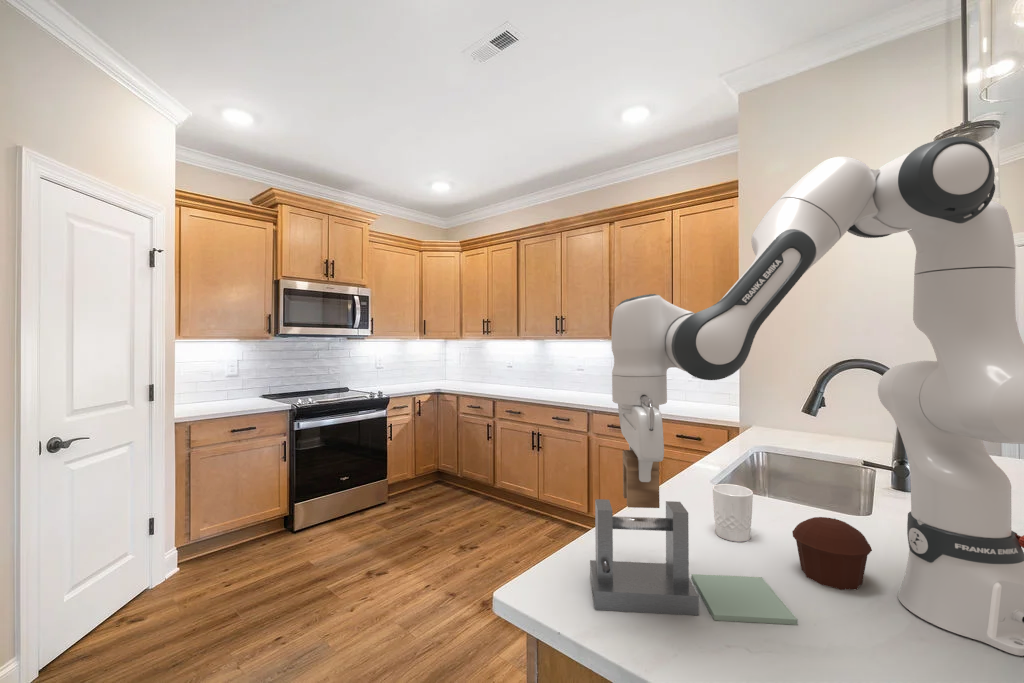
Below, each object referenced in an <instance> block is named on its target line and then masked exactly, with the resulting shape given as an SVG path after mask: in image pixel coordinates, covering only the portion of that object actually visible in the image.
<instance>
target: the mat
mask: <svg viewBox="0 0 1024 683" xmlns="http://www.w3.org/2000/svg"><path fill="white" fill-rule="evenodd" d="M690 575H691V579H690V580H691V581H692V583H693V584H694V585H695V587H696V588H695V589H697V591H698V593H699V595H700V597H701V599H702V601H703V602H704V603H705V606H706V607H707V609H708V611H709V614H710V615H711V616H712V619H713V620H714V621H719V622H720V621H725V622H741V623H743V622H744V623H756V624H758V623H759V624H773V625H774V624H777V625H796V626H798V625H799V624H798V620H799V619H798V618H797V617H796V616H795V615H794V613H793V612H792V611H791V609H789V607H788V606H787V605H786V604H785V602H784V601H783V600H782V599H781V598H780V597H779V596H778V595H777V593H776V592H775V591H774V590H773V589H772V587H771V586H770V585H769V584H768V583H767V582H766V580H765V579H764V578H763V577H762V576H745V575H744V576H743V575H742V576H741V575H722V574H721V575H720V574H719V575H718V574H700V573H699V574H697V573H691V574H690Z"/></svg>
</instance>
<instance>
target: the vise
mask: <svg viewBox="0 0 1024 683" xmlns="http://www.w3.org/2000/svg"><path fill="white" fill-rule="evenodd" d="M594 500H595V502H594V507H595V508H594V510H595V511H594V513H595V523H594V524H595V530H594V532H595V535H594V536H595V559H594V560H593V559H592V560H591V559H590V560H589V570H590V571H589V574H590V575H589V578H590V586H591V594H592V600H593V601H592V603H593V607H594V608H593V609H594V611H607V612H608V611H610V612H611V611H613V612H625V613H626V612H629V613H648V614H662V615H663V614H667V615H681V616H682V615H684V616H700V613H699V612H700V610H699V609H700V606H699V605H700V603H699V602H700V599H699V597H700V596H699V594H698V592H697V590H696V588H695V587H694V585H693V582H692V580H691V579H690V576H689V575H690V572H689V570H690V569H689V568H690V565H689V564H690V562H689V560H690V559H689V558H690V557H689V556H690V555H689V545H690V544H689V541H690V540H689V512H688V510H687V508H686V507H685V506H684V505H683V504H682V502H681V501H671V500H669V501H665V517H650V516H649V517H646V516H645V517H644V516H643V517H641V516H613V506H612V505H611V501H610V499H605V498H603V499H600V498H599V499H598V498H597V499H596V498H595V499H594ZM614 530H627V531H628V530H630V531H631V530H632V531H657V532H660V531H661V532H665V563H664V562H663V563H662V562H660V563H659V562H644V561H643V562H639V561H637V562H636V561H619V560H618V561H617V560H616V561H615V560H613V559H614V546H613V545H614V544H613V542H614V541H613V540H614V538H613V535H614V533H613V531H614Z"/></svg>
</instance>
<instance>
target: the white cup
mask: <svg viewBox="0 0 1024 683" xmlns="http://www.w3.org/2000/svg"><path fill="white" fill-rule="evenodd" d="M753 492H754V491H753V490H751V489H750V488H748V487H746V486H742V485H738V484H732V483H719V484H715V485H713V486H712V499H713V500H712V503H713V514H714V515H713V517H714V526H715V531H714V532H715V534H716V535H717V536H718V537H719V538H721V539H722V540H727V541H731V542H735V543H736V542H737V543H745V542H747V541H749V540H750V539H751V530H752V529H751V527H752V520H753V519H752V517H753V498H754V493H753Z"/></svg>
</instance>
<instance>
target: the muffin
mask: <svg viewBox="0 0 1024 683" xmlns="http://www.w3.org/2000/svg"><path fill="white" fill-rule="evenodd" d="M792 537H793V538H794V539H795V542H796V546H797V552H798V557H799V563H800V568H801V571H802V572H803V573H804V575H805V577H806V578H808V579H810V580H812V581H813V582H816V583H818V584H819V585H820V586H824V587H825V586H826V587H830V588H833V589H837V590H840V591H843V590H844V591H845V589H846V590H854V589H856V590H858V589H859V587H861V585H863V582H864V578H865V577H864V576H865V570H866V567H867V566H866V565H867V560H868V555H870V554H871V552H872V551H873V550H872V547H871V545H870V544H869V542H868V540H867V538H866V536H865V535H864V534H863V533H862V532H861V531H860V530H858V529H857V528H855V527H854V526H852V525H851V524H849V523H847V522H845V521H843V520H840V519H836V518H833V517H826V516H825V517H824V516H817V517H816V516H815V517H810V518H808V519H805V520H803V521H801V522H799V523H797V525H796V526H795V528H794V529H793V530H792ZM857 588H858V589H857Z"/></svg>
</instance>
